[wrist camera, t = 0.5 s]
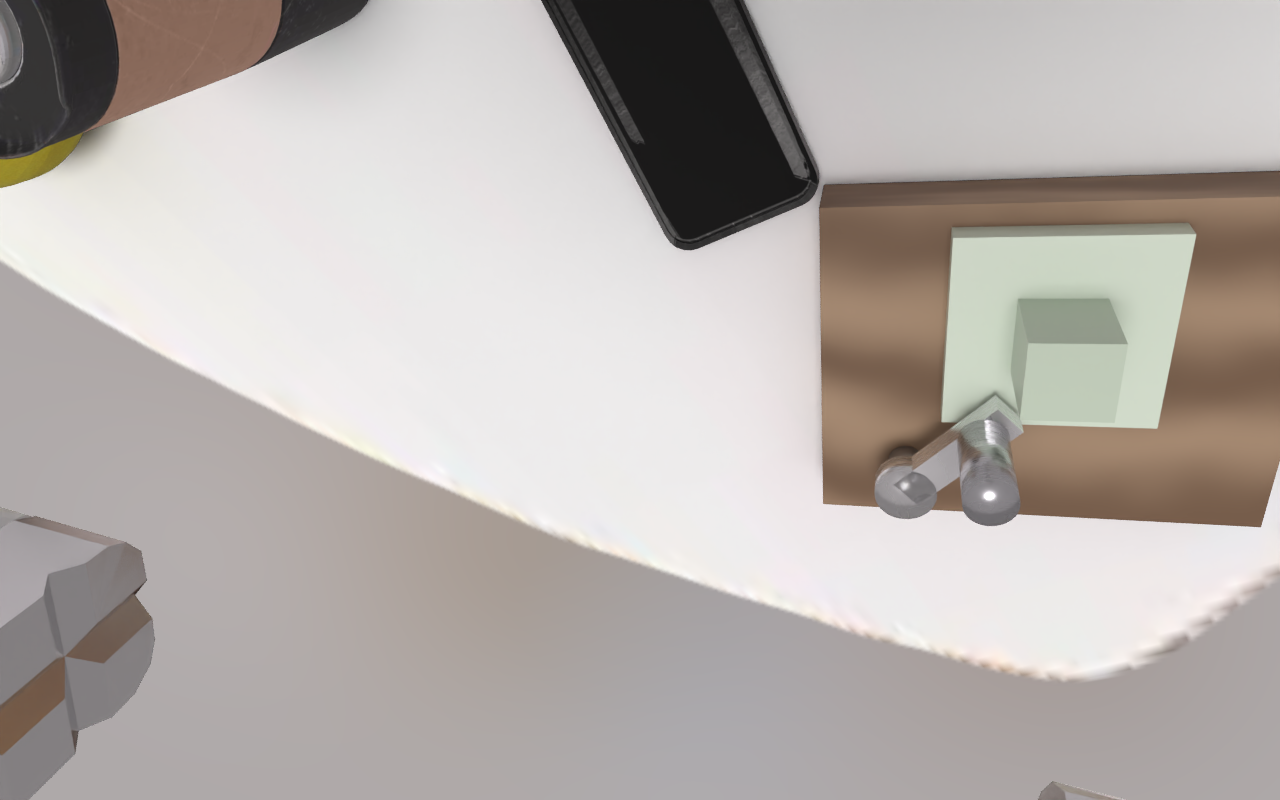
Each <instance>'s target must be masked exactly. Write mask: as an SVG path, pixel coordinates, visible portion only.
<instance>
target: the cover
mask: <svg viewBox="0 0 1280 800" xmlns="http://www.w3.org/2000/svg"><path fill="white" fill-rule="evenodd" d="M1195 239H1196V233H1195V231H1194V230H1193V228H1192V227H1191V225H1190V224H1189V223H1156V224H1103V225H1049V226H996V227H952V231H951V247H950V263H949V280H948V296H947V312H946V328H945V345H944V361H943V377H942V394H941V422H954V423H958V422H960V421H961V420H962V419H964V418H965V417H966V416H968V415H969V414H971V413H972V412H973V411H975V410H976V409H977V408H979V407H980V406H982V405H983V404H984V403H986V402H987V401H988V400H990V399H991V398H993V397H994V396H995V395H996V396H997V397H998V398H999V399H1001V400H1002V401H1003V402H1004V403H1005V404H1006V405H1007V406H1008V407H1009V408H1011V409H1012V410H1013V411H1014V412H1015V413H1016V414H1017V415H1018V416H1019V419H1020V420H1021V422H1022V425H1052V426H1085V427H1118V428H1151V429H1157V428H1158V423H1159V418H1160V413H1161V408H1162V403H1163V398H1164V394H1165V389H1166V384H1167V379H1168V374H1169V369H1170V364H1171V359H1172V354H1173V349H1174V344H1175V339H1176V334H1177V329H1178V324H1179V319H1180V314H1181V309H1182V304H1183V299H1184V294H1185V289H1186V284H1187V279H1188V274H1189V269H1190V264H1191V259H1192V254H1193V249H1194V244H1195Z"/></svg>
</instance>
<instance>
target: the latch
mask: <svg viewBox="0 0 1280 800" xmlns="http://www.w3.org/2000/svg"><path fill="white" fill-rule="evenodd" d="M1022 433H1024V432H1023V427H1022V422H1021V420H1020V419H1019V416H1018V415H1017V414H1016V413H1015V412H1014V411H1013V410H1012V409H1011V408H1009V407H1008V406H1007V405H1006V404H1005V403H1004V402H1003V401H1002V400H1001V399H999V398H998V397H997V396H996V395H995V396H994V397H993V398H991V399H990V400H988V401H987V402H986V403H984V404H983V405H982V406H980V407H979V408H977V409H976V410H975V411H973V412H972V413H971V414H969V415H968V416H966V417H965V418H964V419H962V420H961V421H960V422H958V423H957V424H955V425H954V426H953V427H951V428H950V429H949V430H947V431H946V432H945V433H943V434H942V435H940V436H939V437H938V438H936V439H935V440H934V441H932V442H931V443H929V444H928V445H927V446H925V447H924V448H923V449H921V450H920V451H918V452H917V453H916V454H914V455H913V456H897V457H893V458H890V459H888V460H887V461H885V462H884V463H883V464H881V466H880V467H879V468H878V470H877V472H876V476H875V500H876V502H877V504H878V506H879V507H880V508H881V509H882V510H883V511H884V512H886V513H887V514H889V515H891V516H893V517H896V518H902V519H912V518H917V517H920V516H922V515H924V514H926V513H928V512H929V511H930V510H931V509H932V508H933V506H934V505H935V503H936V500H937V492H938V491H939V490H941V489H942V488H944V487H945V486H947V485H948V484H949V483H951V482H952V481H954V480H955V479H957V478H958V477H960V486H961V498H962V508H963V511H964V513H965V514H966V516H967V517H968V518H969V519H971V520H972V521H974V522H975V523H978V524H981V525H985V526H997V525H1001V524H1004V523H1007V522H1009V521H1010V520H1012V519H1013V518H1014V517H1015V516H1016V515H1017V514H1018V512H1019V510H1020V504H1021V503H1020V496H1019V490H1018V484H1017V479H1016V473H1015V467H1014V461H1013V455H1012V449H1011V443H1010V441H1012V440H1013V439H1015V438H1016V437H1018V436H1019V435H1021V434H1022Z"/></svg>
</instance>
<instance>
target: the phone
mask: <svg viewBox="0 0 1280 800" xmlns="http://www.w3.org/2000/svg"><path fill="white" fill-rule="evenodd" d="M541 1H542V3H543V5H544V7H545V9H546V10H547V12H548V14H549V16H550V18H551V20H552V22H553V24H554V26H555V27H556V29H557V31H558V33H559V35H560V37H561V39H562V41H563V43H564V44H565V46H566V48H567V50H568V52H569V54H570V56H571V58H572V60H573V62H574V63H575V65H576V67H577V69H578V71H579V73H580V75H581V77H582V79H583V80H584V82H585V84H586V86H587V88H588V90H589V92H590V94H591V96H592V97H593V99H594V101H595V103H596V105H597V107H598V109H599V111H600V113H601V115H602V116H603V118H604V120H605V122H606V124H607V126H608V128H609V130H610V132H611V133H612V135H613V137H614V139H615V141H616V143H617V145H618V147H619V149H620V151H621V152H622V154H623V156H624V158H625V160H626V162H627V164H628V166H629V168H630V169H631V171H632V173H633V175H634V177H635V179H636V181H637V183H638V185H639V186H640V188H641V190H642V192H643V194H644V196H645V198H646V200H647V202H648V204H649V205H650V207H651V209H652V211H653V213H654V215H655V217H656V219H657V221H658V222H659V224H660V226H661V228H662V230H663V232H664V234H665V236H666V237H667V239H668V240H669V241H670V243H672V244H673V245H674V246H676V247H677V248H680V249H683V250H694V249H698V248H700V247H703V246H705V245H708V244H710V243H712V242H715V241H717V240H720V239H722V238H724V237H727V236H729V235H732V234H734V233H736V232H739V231H741V230H744V229H746V228H748V227H751V226H753V225H756V224H758V223H760V222H763V221H765V220H768V219H770V218H772V217H775V216H777V215H780V214H782V213H784V212H787V211H789V210H792V209H794V208H796V207H799V206H801V205H803V204H805V203H806V202H808V201H809V200H810V199H811V198H812V197H813V196H814V194H815V192H816V190H817V187H818V183H819V172H818V168H817V165H816V163H815V161H814V158H813V156H812V154H811V152H810V149H809V147H808V145H807V143H806V140H805V138H804V136H803V134H802V131H801V129H800V127H799V125H798V122H797V120H796V118H795V116H794V113H793V111H792V109H791V107H790V104H789V102H788V100H787V98H786V95H785V93H784V91H783V89H782V86H781V84H780V82H779V80H778V77H777V75H776V73H775V71H774V68H773V66H772V64H771V62H770V59H769V57H768V55H767V53H766V50H765V48H764V46H763V44H762V41H761V39H760V37H759V35H758V32H757V30H756V28H755V26H754V23H753V21H752V19H751V17H750V14H749V12H748V10H747V8H746V5H745V3H744V1H743V0H541Z"/></svg>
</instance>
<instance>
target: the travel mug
mask: <svg viewBox="0 0 1280 800" xmlns="http://www.w3.org/2000/svg"><path fill="white" fill-rule="evenodd" d="M367 1H368V0H0V159H15V158H21V157H25V156H29V155H32V154H34V153H36V152H38V151H40V150H41V149H43V148H45V147H47V146H50V145H53V144H55V143H58V142H60V141H63V140H66V139H68V138H71V137H73V136H76V135H79V134H81V133H84V132H86V131H89V130H92V129H94V128H97V127H99V126H102V125H105V124H107V123H110V122H112V121H115V120H118V119H120V118H123V117H125V116H128V115H131V114H133V113H136V112H138V111H141V110H143V109H146V108H149V107H151V106H154V105H156V104H159V103H162V102H164V101H167V100H169V99H172V98H175V97H177V96H180V95H182V94H185V93H188V92H190V91H193V90H195V89H198V88H201V87H203V86H206V85H208V84H211V83H214V82H216V81H219V80H221V79H224V78H227V77H229V76H232V75H234V74H237V73H239V72H242V71H244V70H246V69H248V68H251V67H253V66H255V65H257V64H259V63H261V62H264V61H266V60H268V59H270V58H272V57H274V56H276V55H278V54H281V53H283V52H285V51H287V50H289V49H291V48H293V47H295V46H298V45H300V44H302V43H304V42H306V41H308V40H310V39H312V38H315V37H317V36H319V35H321V34H323V33H325V32H327V31H329V30H331V29H333V28H335V27H337V26H339V25H341V24H343V23H345V22H347V21H348V20H350V19H351V18H353V17H354V16H355V15H356V14H358V13H359V12H360V11H361V10H362V8H363V7H364V6H365V4H366V3H367Z"/></svg>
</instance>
